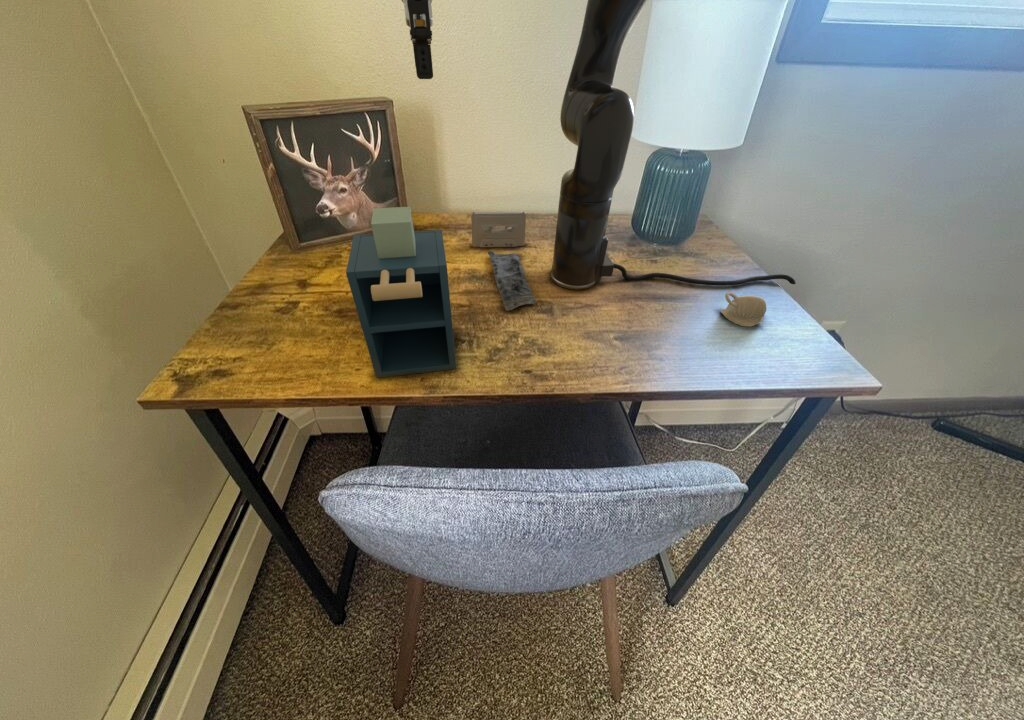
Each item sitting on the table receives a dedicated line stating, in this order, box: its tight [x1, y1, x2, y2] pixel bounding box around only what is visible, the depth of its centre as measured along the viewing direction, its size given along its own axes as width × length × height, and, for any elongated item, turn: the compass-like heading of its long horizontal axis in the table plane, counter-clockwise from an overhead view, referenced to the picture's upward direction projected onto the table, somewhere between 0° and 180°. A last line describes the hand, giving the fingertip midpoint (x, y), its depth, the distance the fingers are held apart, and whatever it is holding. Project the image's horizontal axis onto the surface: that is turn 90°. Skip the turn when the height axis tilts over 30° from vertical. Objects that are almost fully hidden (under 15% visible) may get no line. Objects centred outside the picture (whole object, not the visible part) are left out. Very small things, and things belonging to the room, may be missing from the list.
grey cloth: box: [487, 250, 537, 312], centre depth 81 cm, size 21×7×2 cm, turn 9°
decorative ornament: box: [720, 291, 767, 328], centre depth 72 cm, size 4×8×5 cm, turn 78°
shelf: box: [345, 229, 457, 379], centre depth 57 cm, size 18×12×15 cm
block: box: [370, 206, 416, 259], centre depth 51 cm, size 5×5×5 cm
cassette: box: [470, 211, 527, 248], centre depth 90 cm, size 12×2×8 cm, turn 95°
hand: (424, 73), depth 58 cm, fingers open, 8 cm apart
